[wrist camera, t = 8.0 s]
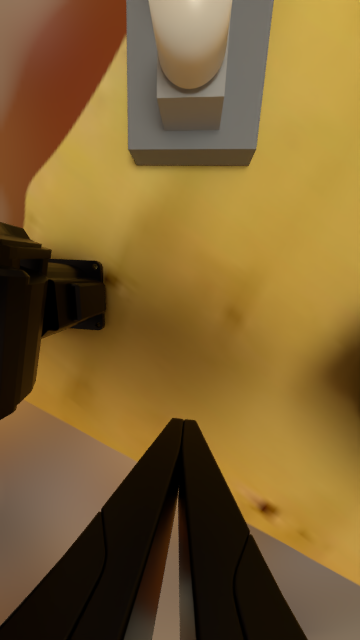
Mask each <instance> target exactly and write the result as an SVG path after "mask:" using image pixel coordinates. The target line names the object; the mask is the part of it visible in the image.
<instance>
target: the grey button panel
mask: <svg viewBox="0 0 360 640" xmlns="http://www.w3.org/2000/svg"><path fill="white" fill-rule="evenodd" d="M273 1H274V0H232V7H231V15H230V23H229V31H228V39H227V47H226V53H225V57H224V60H223V62H222V64H221V67H220V68H219V70H218V72H217V73H216V74H215V76H214V77H213V78H212V79H211V80H210V81H208V82H207V83H206V84H204V85H202V86H200V87H197V88H193V89H185V88H181V87H178V86H176V85H175V84H173V83H172V82H171V81H170V80H169V79H168V78H167V77H166V75H165V74H164V72H163V70H162V68H161V65H160V61H159V57H158V51H157V46H156V40H155V35H154V29H153V24H152V18H151V12H150V7H149V1H148V0H127V2H126V3H127V87H128V150H129V152H130V154H131V155H132V157H133V159H134V161H135V163H136V165H230V166H249V164H250V161H251V159H252V157H253V155H254V153H255V150H256V146H257V138H258V129H259V121H260V112H261V104H262V95H263V87H264V78H265V70H266V61H267V53H268V44H269V36H270V27H271V19H272V10H273Z"/></svg>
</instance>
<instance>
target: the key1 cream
mask: <svg viewBox="0 0 360 640" xmlns="http://www.w3.org/2000/svg"><path fill="white" fill-rule="evenodd" d="M148 1H149V7H150V12H151V18H152V24H153V29H154V35H155V40H156V46H157V51H158V57H159V61H160V65H161V68H162V70H163V72H164V74H165V75H166V77H167V78H168V79H169V80H170V81H171V82H172V83H173V84H175V85H176V86H178V87H181V88H185V89H193V88H197V87H200V86H202V85H204V84H206V83H207V82H208V81H210V80H211V79H212V78H213V77H214V76H215V74H216V73H217V72H218V70H219V68H220V67H221V64H222V62H223V60H224V57H225V53H226V47H227V39H228V31H229V23H230V15H231V7H232V0H148Z"/></svg>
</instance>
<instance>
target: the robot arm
mask: <svg viewBox="0 0 360 640" xmlns="http://www.w3.org/2000/svg"><path fill="white" fill-rule="evenodd" d="M51 251H52V250H51V249H48V248H44V247H42V244H40V243H37V242H34V241H33V240H30V238H29V237H28V235H27V234H26V232H25V230H24V229H23V228H19V227H16V226H13V225H9V224H6V223H2V222H0V420H1V419H3V418H4V417H6V416H8V415H10V414H11V413H13V412H14V411H15V410H16V408H17V404H19V403H20V402H21V401H22V400H23V399H24V398H25V397H26V396H27V395H28V394H29V393H30V392H31V391H32V389H33V386H34V384H35V381H36V375H37V367H38V359H39V351H40V343H41V339H42V338H44V337H47V336H49V335H52V334H54V333H57V332H60V331H62V330H65V329H67V328H76V329H89V330H101V329H102V328H104V326H105V319H104V312H105V311H106V302H105V285H104V283H103V273H102V264H101V263H100V262H98V261H87V260H64V259H49V258H51ZM95 264H96V265H97V269H95V267H94V266H95ZM97 323H99V324H100V327H99V326H98V324H97ZM178 490H179V494H178ZM177 498H178V531H179V532H178V533H179V608H180V640H308V639H307V637H306V636H305V634H304V632H303V630H302V629H301V627H300V625H299V623H298V621H297V620H296V618H295V616H294V614H293V613H292V611H291V609H290V607H289V606H288V604H287V602H286V600H285V598H284V597H283V595H282V593H281V591H280V589H279V587H278V585H277V583H276V581H275V579H274V577H273V575H272V573H271V571H270V570H269V568H268V566H267V564H266V562H265V560H264V558H263V556H262V554H261V552H260V550H259V548H258V546H257V544H256V542H255V540H254V538H253V536H252V535H251V534H250V530H249V528H248V526H247V524H246V522H245V520H244V518H243V516H242V514H241V511H240V509H239V507H238V505H237V503H236V501H235V499H234V497H233V495H232V493H231V491H230V489H229V487H228V485H227V483H226V481H225V479H224V477H223V475H222V473H221V471H220V469H219V467H218V465H217V463H216V461H215V459H214V456H213V454H212V452H211V450H210V448H209V446H208V444H207V442H206V440H205V438H204V436H203V434H202V432H201V430H200V428H199V426H198V424H197V422H196V421H195V420H188V419H185V420H183V419H179V418H172V419H171V420H170V422H169V423H168V424H167V425H166V427H165V428H164V429H163V431H162V432H161V433H160V434H159V436H158V437H157V438H156V439H155V441H154V442H153V443H152V445H151V446H150V447H149V448H148V450H147V451H146V452H145V454H144V455H143V456H142V457H141V459H140V460H139V461H138V462H137V464H136V465H135V466H134V468H133V469H132V470H131V471H130V473H129V474H128V475H127V477H126V478H125V479H124V480H123V482H122V483H121V484H120V485H119V487H118V488H117V489H116V491H115V492H114V493H113V494H112V496H111V497H110V498H109V500H108V501H107V502H106V503H105V505H104V506H103V507H102V509H101V512H98V513H97V515H96V516H95V517H94V518H93V520H92V521H91V522H90V524H89V525H88V526H87V527H86V529H85V530H84V531H83V532H82V533H81V535H80V536H79V537H78V538H77V540H76V541H75V542H74V543H73V544H72V546H71V547H70V548H69V549H68V551H67V552H66V553H65V554H64V555H63V557H62V558H61V559H60V560H59V561H58V562H57V563H56V565H55V566H54V567H53V568H52V569H51V570H50V571H49V573H48V574H47V575H46V576H45V577H44V578H43V579H42V580H41V581H40V583H39V584H38V585H37V586H36V587H35V588H34V590H32V592H31V593H30V594H29V595H28V596H27V597H26V598H25V599H24V600H23V602H21V604H20V605H19V606H18V607H17V608H16V609H15V610H14V611H13V612H12V613H11V615H10V616H9V617H8V618H7V619H6V620H5V621H4V622H3V623H2V625H0V640H152V635H153V631H154V625H155V620H156V614H157V609H158V603H159V598H160V593H161V587H162V582H163V576H164V571H165V565H166V559H167V554H168V548H169V543H170V538H171V532H172V527H173V522H174V516H175V511H176V505H177Z"/></svg>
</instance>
